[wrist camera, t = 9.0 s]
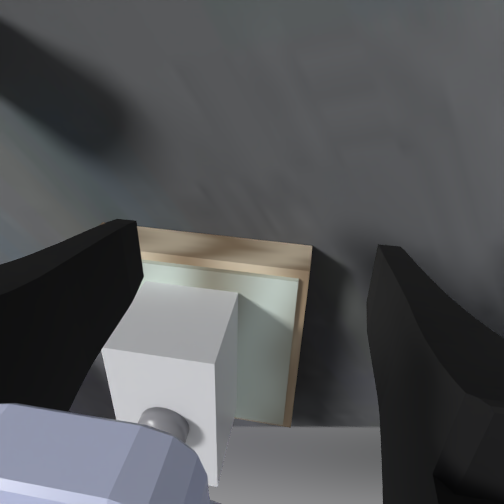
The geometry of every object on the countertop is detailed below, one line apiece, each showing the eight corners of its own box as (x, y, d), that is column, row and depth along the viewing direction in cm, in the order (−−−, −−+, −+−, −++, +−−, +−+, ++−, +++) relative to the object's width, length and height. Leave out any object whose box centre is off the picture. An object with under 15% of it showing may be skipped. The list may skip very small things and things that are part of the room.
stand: (312, 245, 23) (309, 274, 20) (293, 396, 29) (290, 431, 27) (102, 222, 24) (77, 246, 22) (128, 370, 31) (110, 401, 28)
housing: (236, 408, 26) (213, 502, 21) (159, 395, 27) (120, 484, 22) (238, 292, 22) (209, 379, 17) (145, 280, 22) (91, 360, 17)
